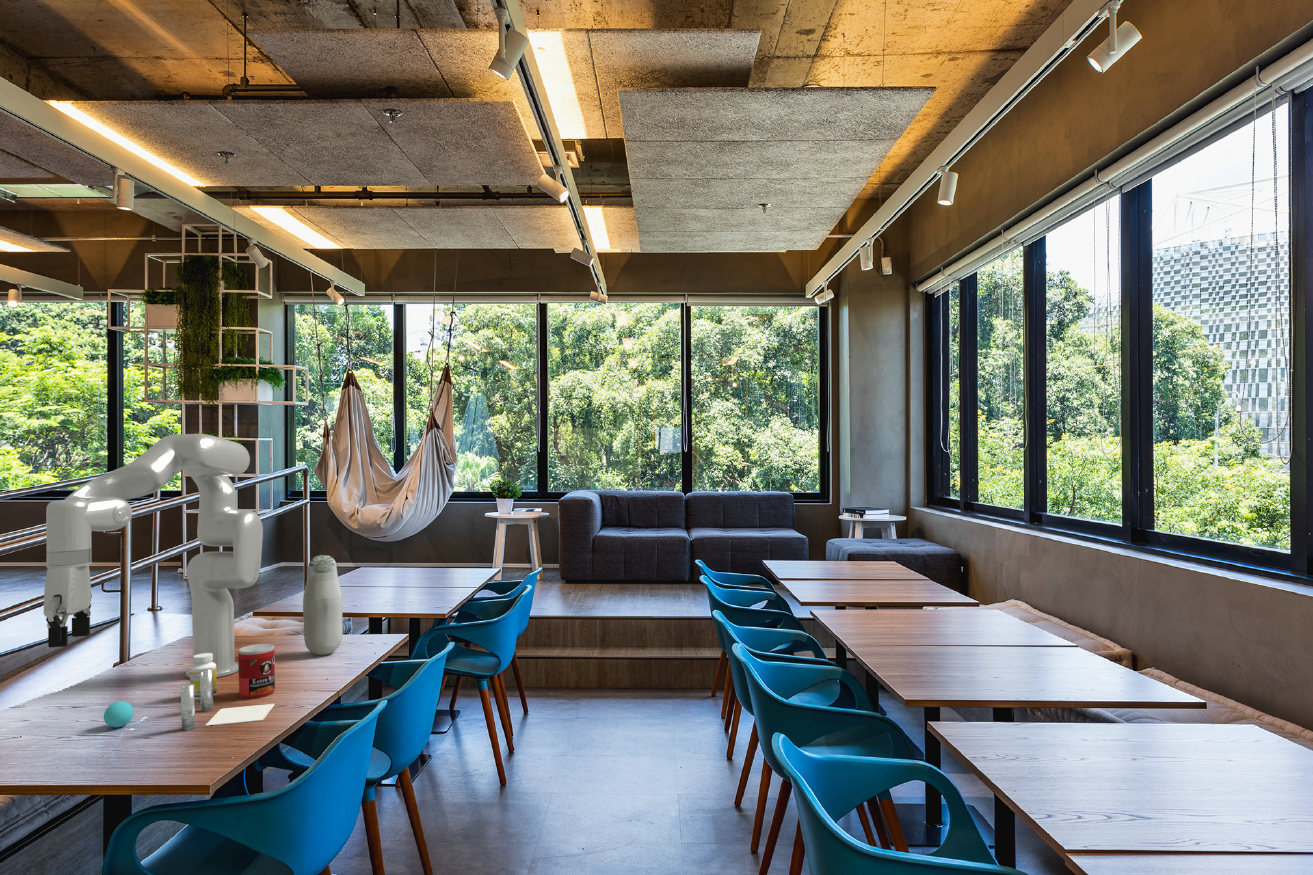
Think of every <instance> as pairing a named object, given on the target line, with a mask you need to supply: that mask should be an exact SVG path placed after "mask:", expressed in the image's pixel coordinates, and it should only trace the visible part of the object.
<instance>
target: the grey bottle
mask: <svg viewBox="0 0 1313 875" xmlns="http://www.w3.org/2000/svg"><path fill="white" fill-rule="evenodd" d="M337 567H338V566H337V563H336V560H335V559H334V557H333V556H331V555H327V554H320V555H316V556H314V557H313V558H311V560H310V561H309V562H308V566H307V578H306V583H305V587H304V591H303V598H302V615H303V616H302V617H303V639H304V644H305V647H306V649H307V650H308V651H309V652H310V653H311V654H314V655H318V656H324V655H329V654H333V652H336V650H337V649H338V648H339V647H340V645H341V643H342V640H343V595H342V594H343V593H342V589H341V588H342V587H341V586H340V582H339V581H340V580H339V576H338V568H337Z"/></svg>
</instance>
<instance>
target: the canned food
mask: <svg viewBox="0 0 1313 875" xmlns="http://www.w3.org/2000/svg"><path fill="white" fill-rule="evenodd" d="M237 653H238V654H237V658H238V660H237V662H238V669H239V671H238V694H239V697H240V698H242V699H245V700H255V699H260V698H261V697H262V698H264V697H265V698H266V697H269V696H271V695H273V693H275V690H276V689H275V688H276V679H275V678H276V677H275V676H276V672H275V670H276V669H275V668H276V666H275V664H276V663H275V661H276V660H275V659H276V658H275V653H276V652H275V644H271V643H258V644H250V645H247V646H243V647H241V648H239V649H238V652H237ZM268 695H269V696H268Z"/></svg>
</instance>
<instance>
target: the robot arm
mask: <svg viewBox="0 0 1313 875" xmlns="http://www.w3.org/2000/svg"><path fill="white" fill-rule="evenodd" d="M250 461H251V457H250V454H249V451H248V449H247V448H246V447H245V446H244V445H242V444H241V443H238V442H237V441H232V440H229V439H225V438H221V437H219V436H214V435H211V434H205V433H184V434H183V433H182V434H181V433H180V434H170V435H169V434H168V435H166V436H164V437H163V438H160V439H159V440H158V441H157V442H155V443H154V444H153V445H152V446H150V447H149V448H148V449H146V451H144V452H143V453H142V454H140V455H138V457H137V458H135V459H133V461H132V462H130V463H128V464H127V465H125V466H121V467H119V468H116V469H113V470H112V471H109V472H108V473H107V472H106V474H102V475H100V476H99V477H95V478H94V479H92V480H90V481H88V482H87V481H86V483H84V484H82V485H81V486H80V487H78V488H77V489H76V490H74V491H73V492H72V493H70V494H69V495H68V496H66V498H64V499H60V500H59V499H58V500H53V501H51V502H48V504H47V505H46V510H45V511H46V513H45V514H46V516H45V517H46V518H45V520H46V528H45V530H46V534H45V535H46V569H47V570H46V574H45V575H46V576H45V583H44V590H43V591H44V594H43V615H44V616H45V617H46V618H45V621H46V622H47V625H46V627H47V631H48V632H47V634H48V636H47V637H48V638H47V642H48V643H47V644H48V648H49V649H50V648H61V647H62V648H65V647H67V646H68V644H69V640H68V639H69V636H68V634H69V633H68V632H69V631H68V630H69V626H68V625H67V622H68V618H69V616H73V617H71V637H73V638H76V637H77V638H79V637H88V636H90V635H91V615H92V614H91V607H92V603H91V602H92V596H93V594H92V588H91V587H92V584H91V573H90V565H92V562H93V560H92V558H93V557H92V554H93V553H92V551H93V550H92V532H112V531H117V530H120V529H123V528H124V527H126V526H127V525H128V524H129V522H130V521H131V519H132V516H133V509H132V506H131V504H130V503H129V502H128V501H129V500H131V499H136V498H137V499H138V498H141V497H144V496H145V497H146V496H147V495H150V494H153V493H156V492H157V491H159V490H161V488H163V487H164V486H165V485H167V483H168V482H169V481H171V480H172V479H173V478H174V477H175V476H177V474H179V473H180V472H181V471H182V470H184V471H185V472H186V473H187V474H188V476H190V478H191V479H192V480H193V482H194V483H195V484H196V486H197V490H198V492H199V493H198V494H199V500H198V501H199V505H198V516H197V529H196V530H197V531H196V533H197V539H198V541H199V542H200V544H202V545H204V546H207V547H232V548H233V551H205V552H204V551H203V552H201V553H198V554H196V555H194V556H193V557H192V558H191V559H190V560H189V562H188V564H187V566H186V567H187V568H186V577H187V582H188V585H189V588H190V590H189V591H190V595H191V606H192V607H191V612H192V613H191V614H192V616H191V617H192V620H191V621H192V622H191V623H192V628H191V629H192V657H193V656H195V655H198V654H203V653H212V654H213V660H212V662H213V663H215V664H216V675H217V678H220V677H225V676H229V675H233V674H235V673H237V672H238V673H239V669H238V661H237V662H236V660H235V659H236V657H235V656H236V654H235V652H236V651H235V605H234V599H233V597H232V594H231V593H230V591H229V589H246V588H247V589H248V588H250V587H252V586H253V585H254V584H255V583H256V582H257V580H258V579H259V576H260V571H261V564H262V551H263V539H264V536H263V535H264V527H263V523H262V519H261V518H260V516H259V515H258V514H257V513H256V512H255V511H252V510H248V509H237V507H236V505H237V503H236V501H237V492H236V488H235V486H234V484H233V482H232V480H231V479H230V478H229V477H235V476H240V475H242V474H243V473H245V471H247V470H248V468H249V466H250ZM193 665H194V663H193V662H192V666H193ZM185 676H186V678H187V679H190V668H189V669H188V670H186V674H185Z"/></svg>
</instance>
